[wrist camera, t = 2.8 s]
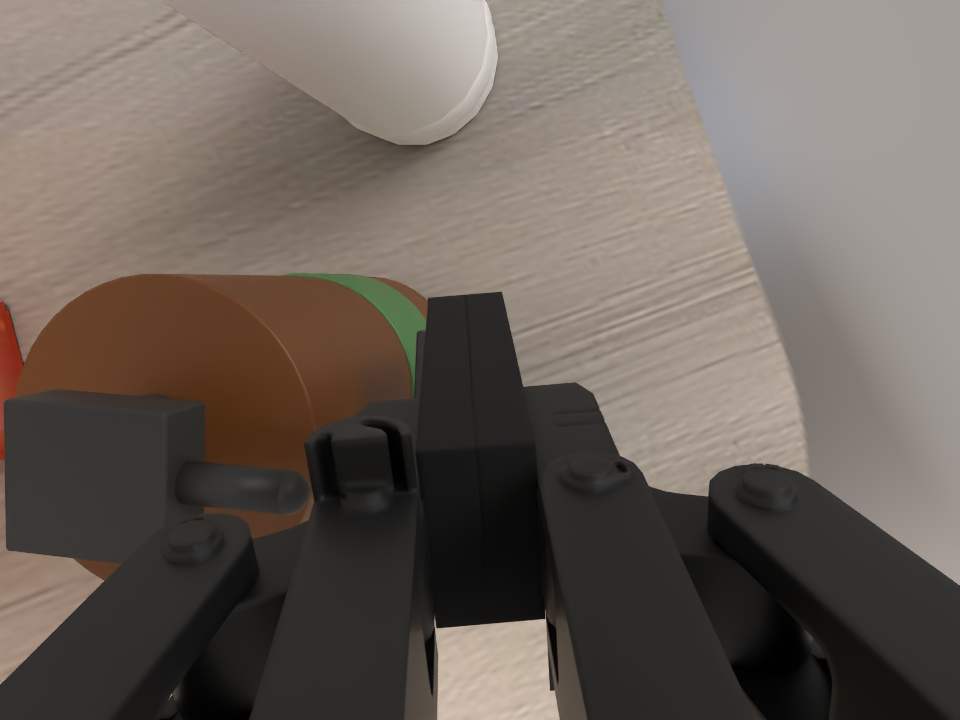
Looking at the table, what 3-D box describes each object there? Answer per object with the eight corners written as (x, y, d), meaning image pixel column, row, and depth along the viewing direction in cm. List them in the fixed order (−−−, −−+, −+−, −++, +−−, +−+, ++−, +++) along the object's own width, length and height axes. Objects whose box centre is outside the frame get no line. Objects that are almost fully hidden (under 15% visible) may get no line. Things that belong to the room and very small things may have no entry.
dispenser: (283, 444, 38) (-130, 655, 17) (288, 270, 37) (-145, 256, 16) (473, 461, 37) (287, 716, 15) (482, 280, 36) (298, 280, 14)
